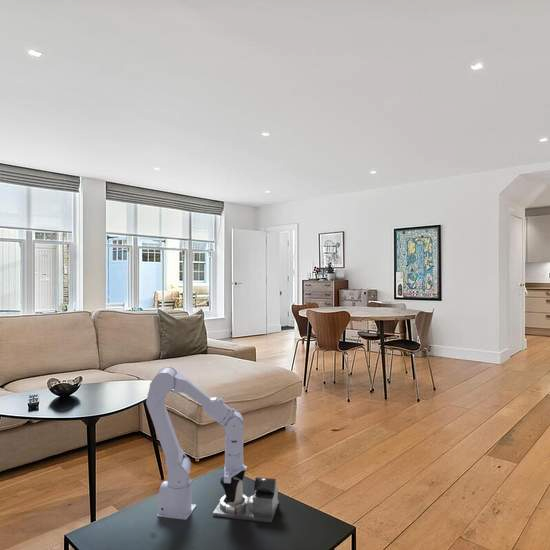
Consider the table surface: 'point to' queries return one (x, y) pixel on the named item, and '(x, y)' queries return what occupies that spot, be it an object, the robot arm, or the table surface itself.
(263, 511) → the grey machine
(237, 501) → the white bottle
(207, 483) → the table surface
